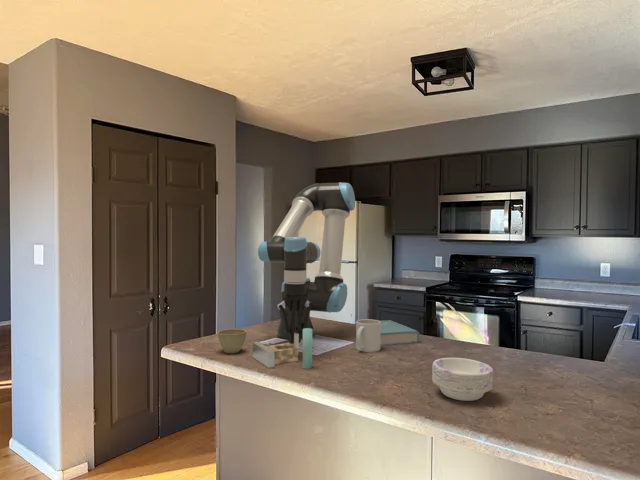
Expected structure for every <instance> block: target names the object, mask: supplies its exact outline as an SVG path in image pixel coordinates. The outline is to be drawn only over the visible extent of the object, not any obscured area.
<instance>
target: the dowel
mask: <svg viewBox="0 0 640 480" xmlns="http://www.w3.org/2000/svg"><path fill="white" fill-rule="evenodd" d="M302 369H305V370H308V369H309V370H310V369H313V336H312V329H311V328H304V329H303V339H302Z"/></svg>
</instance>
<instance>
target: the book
mask: <svg viewBox="0 0 640 480" xmlns="http://www.w3.org/2000/svg"><path fill="white" fill-rule="evenodd" d="M379 321H380V322H381V346H392V345H403V344H416V343H417V344H418V343H420V332H419V331H418V330H416V329H413V328H411V327H409V326H406V325H404V324H401V323H398V322H396V321H393V320H391V319H388V320H383V319H382V320H379Z"/></svg>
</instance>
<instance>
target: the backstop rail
mask: <svg viewBox="0 0 640 480" xmlns="http://www.w3.org/2000/svg"><path fill="white" fill-rule="evenodd" d="M267 346H268V345H265V344H263V343H261V342H260V341H253V342H252V358H254V359H255V360H257V362H259V363H261V364H262V365H263V366H265V367H266V368H268V369H271V368H275V365H276V364H275V351H273V350H272V349H270V348H268V347H267Z"/></svg>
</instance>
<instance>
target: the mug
mask: <svg viewBox="0 0 640 480" xmlns="http://www.w3.org/2000/svg"><path fill="white" fill-rule="evenodd" d="M380 321H381V320H378V319H371V318H365V319H364V318H363V319H358V320H356V322H355V349H356V350H357V351H358V352H359V351H360V352H363V353H364V352H365V353H366V352H367V353H375V352H379V351H380V350H381V346H382V345H381V322H380Z"/></svg>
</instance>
